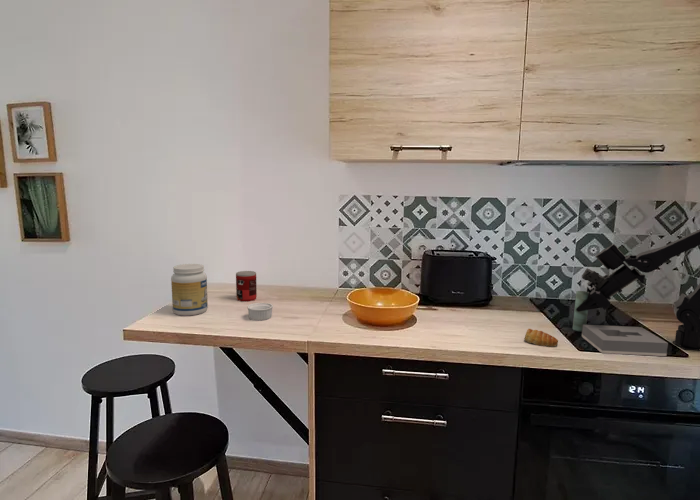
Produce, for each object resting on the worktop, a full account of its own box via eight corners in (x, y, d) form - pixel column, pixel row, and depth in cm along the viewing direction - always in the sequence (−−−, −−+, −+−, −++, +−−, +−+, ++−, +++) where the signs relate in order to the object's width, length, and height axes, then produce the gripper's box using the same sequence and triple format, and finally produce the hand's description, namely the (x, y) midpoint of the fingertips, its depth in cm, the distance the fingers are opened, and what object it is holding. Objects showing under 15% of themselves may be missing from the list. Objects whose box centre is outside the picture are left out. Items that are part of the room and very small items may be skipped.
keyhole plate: (639, 339, 144) (641, 327, 144) (666, 356, 130) (668, 343, 130) (581, 336, 146) (582, 324, 145) (601, 353, 132) (603, 340, 131)
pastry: (559, 343, 140) (560, 331, 139) (555, 350, 134) (556, 338, 134) (527, 337, 145) (528, 325, 144) (522, 343, 139) (523, 331, 139)
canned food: (235, 297, 184) (235, 271, 182) (255, 296, 187) (255, 270, 185) (237, 302, 177) (236, 275, 175) (257, 301, 179) (257, 274, 178)
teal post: (582, 327, 154) (586, 291, 152) (587, 331, 150) (591, 294, 148) (570, 327, 154) (574, 290, 152) (575, 331, 151) (579, 293, 148)
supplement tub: (210, 314, 162) (208, 268, 159) (174, 318, 156) (171, 270, 154) (205, 305, 172) (203, 262, 170) (171, 308, 167) (169, 264, 164)
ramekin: (249, 322, 154) (249, 310, 153) (245, 315, 162) (245, 303, 161) (275, 320, 157) (275, 308, 156) (270, 312, 165) (270, 301, 164)
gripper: (597, 257, 155) (559, 284, 162) (602, 266, 138) (559, 296, 145) (621, 282, 153) (581, 308, 160) (628, 294, 136) (584, 323, 143)
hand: (576, 308), depth 152 cm, fingers closed on teal post, 4 cm apart
